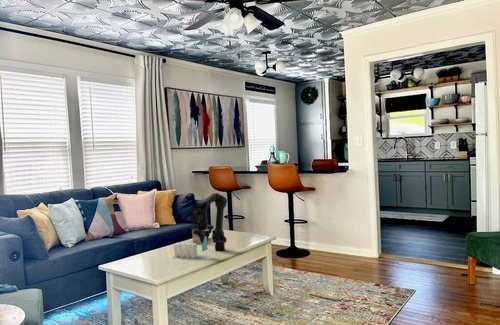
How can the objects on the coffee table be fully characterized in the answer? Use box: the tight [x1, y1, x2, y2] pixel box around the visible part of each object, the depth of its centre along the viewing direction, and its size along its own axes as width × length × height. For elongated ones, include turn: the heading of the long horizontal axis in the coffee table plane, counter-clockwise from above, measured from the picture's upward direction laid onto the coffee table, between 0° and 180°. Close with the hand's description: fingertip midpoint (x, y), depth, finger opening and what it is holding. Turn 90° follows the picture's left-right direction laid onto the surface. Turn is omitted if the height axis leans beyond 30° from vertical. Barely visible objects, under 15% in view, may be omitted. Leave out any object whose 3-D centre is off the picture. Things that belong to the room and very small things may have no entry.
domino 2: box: [180, 242, 186, 257], centre depth 269 cm, size 2×5×9 cm, turn 158°
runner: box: [171, 254, 211, 261], centre depth 266 cm, size 26×10×1 cm, turn 68°
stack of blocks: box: [191, 229, 202, 245], centre depth 316 cm, size 21×6×12 cm, turn 169°
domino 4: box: [191, 243, 198, 258], centre depth 265 cm, size 2×5×9 cm, turn 159°
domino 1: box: [173, 242, 181, 257], centre depth 270 cm, size 2×5×9 cm, turn 158°
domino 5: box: [201, 236, 209, 252], centre depth 262 cm, size 2×5×9 cm, turn 158°
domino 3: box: [185, 242, 192, 258], centre depth 267 cm, size 2×5×9 cm, turn 159°
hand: (204, 242), depth 262 cm, fingers closed on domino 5, 5 cm apart
